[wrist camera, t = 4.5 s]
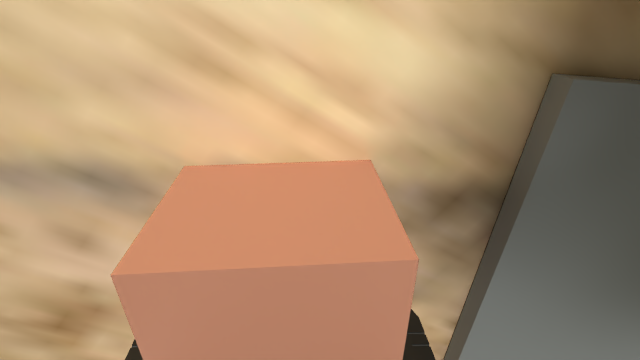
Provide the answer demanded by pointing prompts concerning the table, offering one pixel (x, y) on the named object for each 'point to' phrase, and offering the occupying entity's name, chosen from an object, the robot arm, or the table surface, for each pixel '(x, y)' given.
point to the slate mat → (565, 236)
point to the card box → (271, 266)
